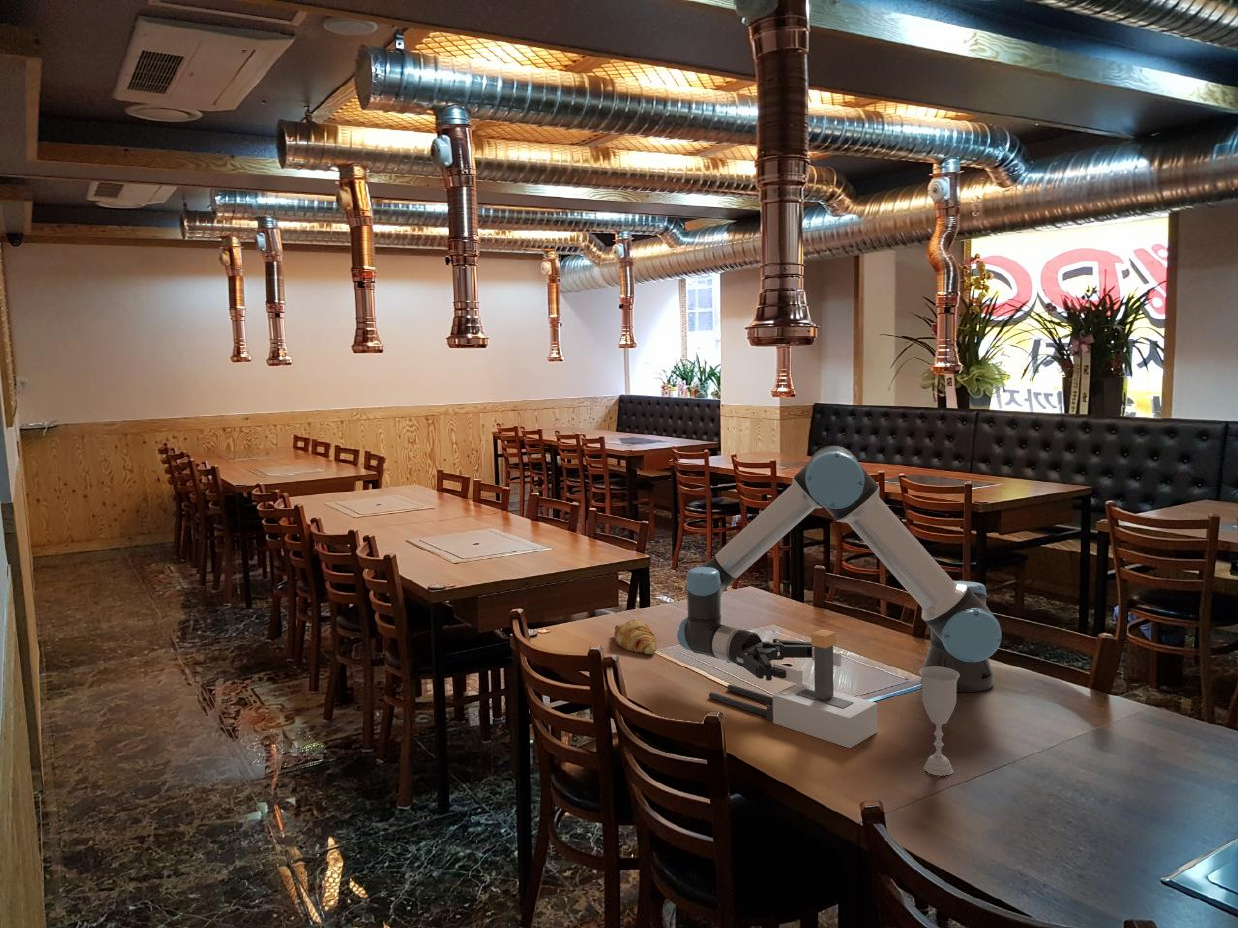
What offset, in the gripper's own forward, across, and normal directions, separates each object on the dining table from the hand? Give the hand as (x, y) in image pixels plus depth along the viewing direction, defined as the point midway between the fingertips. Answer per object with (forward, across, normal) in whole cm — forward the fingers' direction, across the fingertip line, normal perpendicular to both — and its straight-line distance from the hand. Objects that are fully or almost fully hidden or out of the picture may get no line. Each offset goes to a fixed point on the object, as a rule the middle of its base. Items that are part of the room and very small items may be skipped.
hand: (821, 668), depth 176 cm
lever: (0, 0, -6) cm, 6 cm away
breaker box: (0, 0, -12) cm, 12 cm away
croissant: (-66, -12, -13) cm, 68 cm away
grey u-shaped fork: (-18, 0, -12) cm, 22 cm away
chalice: (+26, +2, -13) cm, 29 cm away
